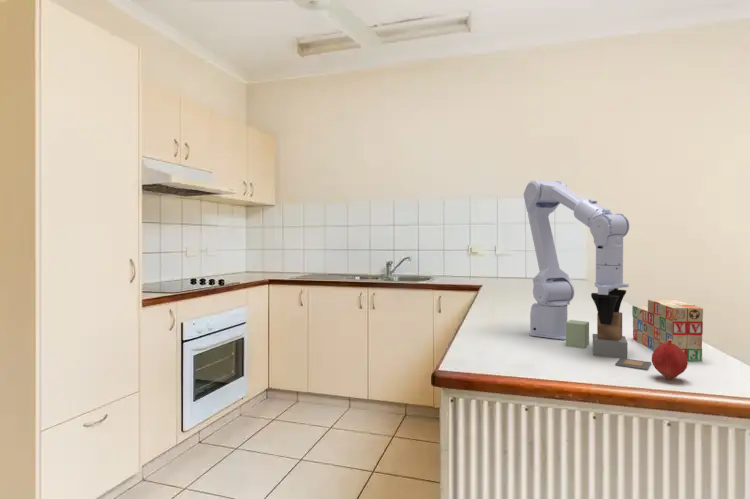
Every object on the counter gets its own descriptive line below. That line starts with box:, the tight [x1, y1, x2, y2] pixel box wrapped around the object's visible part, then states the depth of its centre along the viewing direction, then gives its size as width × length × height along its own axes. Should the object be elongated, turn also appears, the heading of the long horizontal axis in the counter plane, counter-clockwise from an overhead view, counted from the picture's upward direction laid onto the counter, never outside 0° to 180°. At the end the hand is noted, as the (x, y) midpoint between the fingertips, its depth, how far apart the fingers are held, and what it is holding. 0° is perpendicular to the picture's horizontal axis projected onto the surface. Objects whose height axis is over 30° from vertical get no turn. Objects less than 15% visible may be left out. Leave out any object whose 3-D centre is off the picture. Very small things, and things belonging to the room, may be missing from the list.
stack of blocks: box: [631, 298, 704, 362], centre depth 107 cm, size 21×6×12 cm, turn 170°
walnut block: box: [596, 311, 623, 341], centre depth 104 cm, size 4×4×6 cm
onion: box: [651, 339, 689, 380], centre depth 85 cm, size 6×6×8 cm
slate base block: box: [592, 333, 628, 359], centre depth 104 cm, size 7×7×4 cm
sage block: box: [565, 319, 590, 349], centre depth 112 cm, size 4×4×6 cm
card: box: [614, 358, 652, 371], centre depth 95 cm, size 6×6×1 cm
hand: (608, 321), depth 104 cm, fingers open, 7 cm apart
